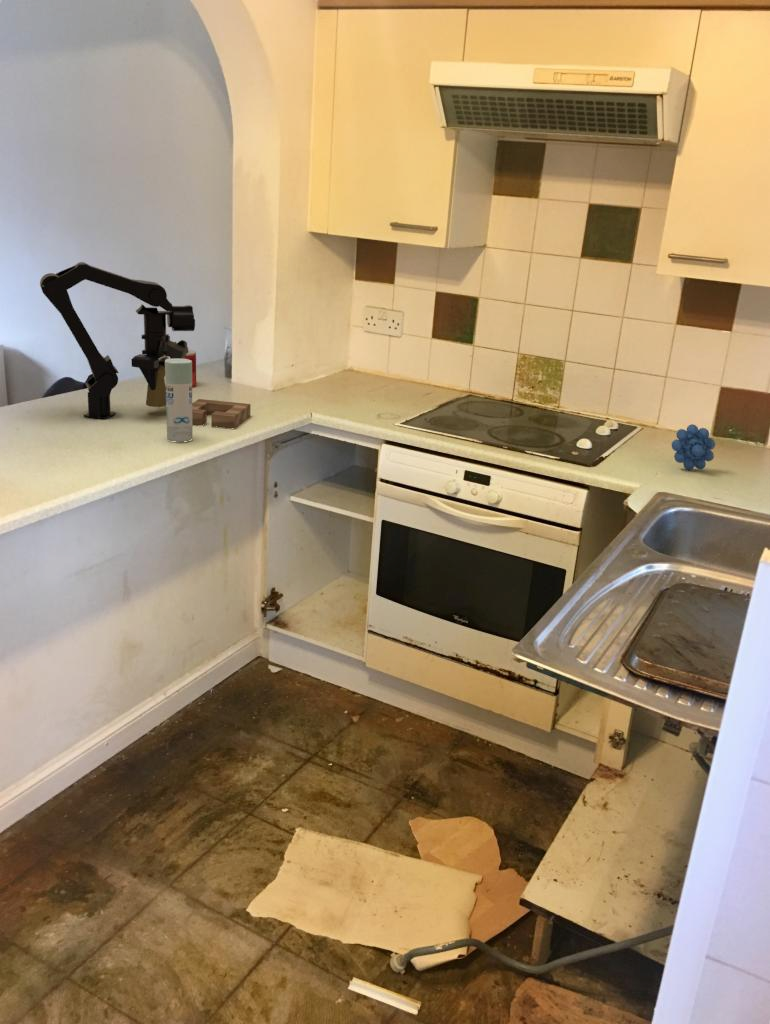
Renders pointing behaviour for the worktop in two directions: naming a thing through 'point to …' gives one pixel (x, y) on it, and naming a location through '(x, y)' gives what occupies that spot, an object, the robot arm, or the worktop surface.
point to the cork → (157, 391)
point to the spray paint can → (178, 399)
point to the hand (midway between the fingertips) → (156, 388)
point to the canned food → (192, 356)
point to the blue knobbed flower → (693, 447)
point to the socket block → (220, 413)
